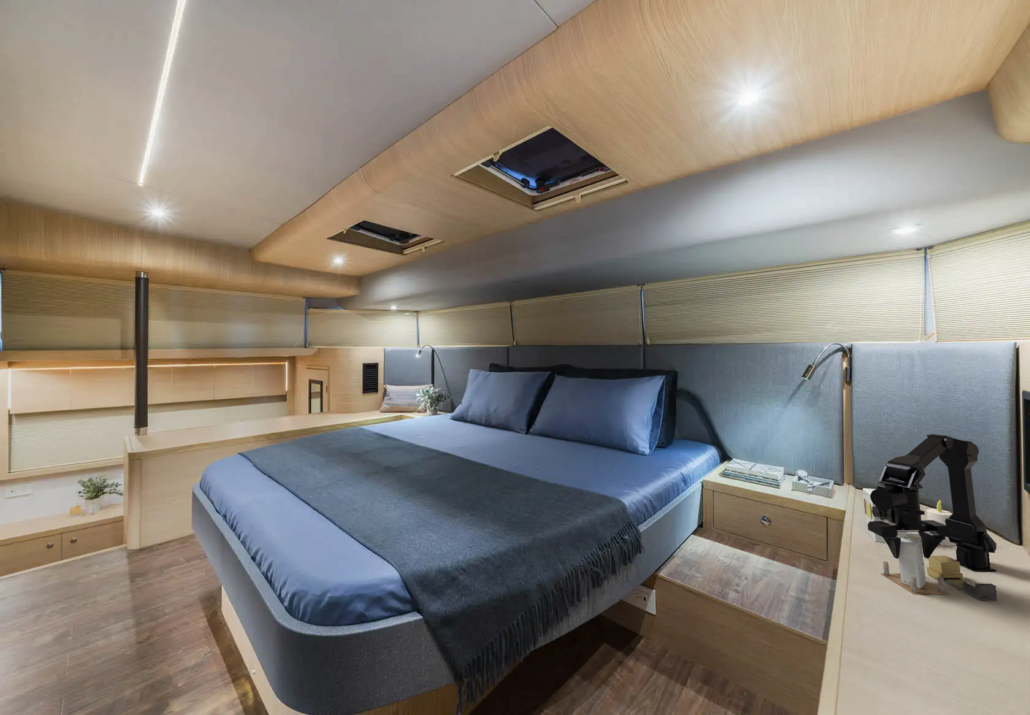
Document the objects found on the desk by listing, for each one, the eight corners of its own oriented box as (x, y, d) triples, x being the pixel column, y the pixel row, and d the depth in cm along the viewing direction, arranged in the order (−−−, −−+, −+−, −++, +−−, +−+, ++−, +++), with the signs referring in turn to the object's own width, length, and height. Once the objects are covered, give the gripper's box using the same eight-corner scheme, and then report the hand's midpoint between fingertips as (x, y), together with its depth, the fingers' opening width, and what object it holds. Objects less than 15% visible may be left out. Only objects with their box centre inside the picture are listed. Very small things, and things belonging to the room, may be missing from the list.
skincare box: (921, 589, 112) (917, 546, 113) (899, 583, 116) (896, 541, 116) (926, 582, 116) (922, 540, 116) (905, 576, 119) (902, 535, 120)
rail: (944, 573, 120) (942, 560, 120) (997, 601, 106) (995, 585, 106) (929, 573, 120) (928, 560, 121) (981, 601, 106) (979, 585, 106)
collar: (949, 573, 119) (948, 555, 120) (963, 580, 115) (961, 562, 116) (927, 573, 120) (925, 555, 120) (940, 580, 116) (938, 562, 116)
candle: (942, 537, 143) (938, 496, 144) (960, 545, 137) (956, 501, 138) (923, 537, 144) (919, 496, 145) (940, 545, 138) (937, 502, 138)
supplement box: (865, 531, 151) (861, 487, 152) (896, 535, 147) (892, 489, 148) (875, 542, 143) (871, 495, 143) (909, 545, 139) (904, 497, 139)
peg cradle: (912, 574, 121) (911, 560, 121) (948, 594, 110) (947, 579, 110) (881, 574, 121) (880, 560, 122) (913, 594, 111) (912, 579, 111)
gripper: (915, 495, 124) (919, 545, 123) (851, 496, 125) (856, 546, 125) (951, 507, 113) (956, 563, 112) (881, 508, 114) (885, 563, 114)
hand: (911, 558), depth 116 cm, fingers open, 8 cm apart
